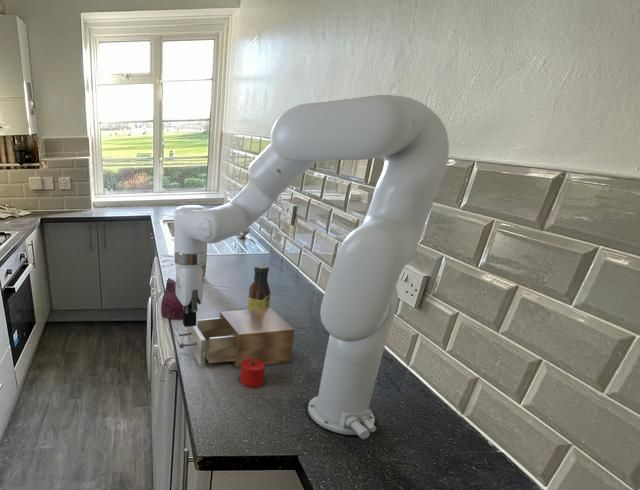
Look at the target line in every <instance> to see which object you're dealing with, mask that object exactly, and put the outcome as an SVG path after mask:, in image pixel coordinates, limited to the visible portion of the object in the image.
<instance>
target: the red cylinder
mask: <svg viewBox="0 0 640 490" xmlns="http://www.w3.org/2000/svg"><path fill="white" fill-rule="evenodd" d="M265 367H266V365H264V363H263V362H261V361H259V360H256V359H246V360H244V361H242V363H241V367H240V375H239V376H240V377H239V381H240V383H241V384H242V385H243V386H245V387H249V388H258V387H261V386H262V385H263V383H264V376H265Z"/></svg>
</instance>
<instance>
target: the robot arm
mask: <svg viewBox="0 0 640 490" xmlns="http://www.w3.org/2000/svg"><path fill="white" fill-rule="evenodd" d="M271 128H272V129H271V132H270V143H269V144H268V145H267V146H266V147H265V148H264V149H263V150H262V151H261V152H260V153H259V154H258V155H257V156H256V157H255V158H254V160H252V161H251V162H250V164H249V166H248V169H247V172H248V177H249V179H248V181H247V183H246V185H245V186H244V187H243V188H242V189H241V190H240V191H239V192H238V194H236V195H235V196H234V197H233V198H232V199H231V200H230V201H229V202H228V203H225V204H221V205H218V206H215V207H211V208H207V209H206V208H205V207H204V206H202V205H199V204H187V205H180V206H178V207H176V208H175V210H174V212H173V237H174V238H173V240H174V245H173V246H174V247H173V248H174V249H173V250H174V253H173V255H174V265H175V266H176V267H175V282H176V290H175V293H176V296H177V298H178V299H179V301H180V302H181V304H182V305H183V310H185V311H183V319H182V325H183V326H184V328H188V327H190V326H196V325H197V312H198V310H199V309H198V305H199V306H200V305H202V303H203V297H204V283H203V282H204V278H202V275H203V274H202V266H203V265H204V264H205V252H206V243H207V244H217V243H220V242H223V241H225V240H227V239H229V238H232V237H235V236H237V235H240V234H241V233H243V232H244V231H245V230H247V229H248V228H249V227H250V226H252V224H254V223H255V222H256V221H257V220H258V219H259V218H260V217H262V216H264V214H265V213H266V212H267V211H268V210H269V209H270V208H271V207H272V206H273V205H274V203H275V202H276V201H277V199H278V198H279V196H280V195H281V194H283V192H285V191H286V190H287V189H288V188H289V187H291V185H292V184H293V183H295V182H296V181H297V180H298V179H299V178H301V176H303V175H304V174H305V173H306V172H307V171H308V170H309V169H311V168H312V167H313V166H314V165H315V164H316V163H317V162H327V161H329V162H330V161H362V160H374V159H379V158H383V167H382V171H381V174H380V176H379V178H378V180H377V183H376V185H375V188H374V191H373V193H372V194H373V195H372V198H371V201H370V204H369V207H368V209H367V212H366V215H365V217H364V220H363V222H362V223H361V224H360V225H359V226H358V227H355V229H353V230H352V231H351V232H349V233H348V235H347V236H345V238H344V240H343V241H342V243H341V245H340V247H339V248H338V251H337V253H336V255H335V259H334V261H333V265H332V269H331V272H330V273H329V278H328V281H327V285H326V288H325V291H324V294H323V298H322V299H321V300H322V301H321V304H320V311H319V312H320V319H321V323H322V326H323V327H324V329H325V330H326V332H327V333H328V334H329V337H328V342H327V346H326V351H325V356H324V362H323V367H322V372H321V377H320V383H319V390H318V394H317V395H316V396H314V397H313V398H311V399H310V401H309V402H308V404H307V413H308V415H309V416H310V418H311V419H312V420H313V421H314V422H315V423H316V424H318V425H319V426H320V427H322V428H324V429H325V430H329V431H330V432H333V433H337V434H340V435H346V436H358V437H359V438H360V439H362V440H364V439H367V438H369V436H370V435H371V433H374V432H376V431H377V426H375V422H376V421H375V420H376V419H375V415H374V414H373V411H372V410H371V409H370V405H371V401H372V397H373V393H374V389H375V385H376V382H377V378H378V375H379V370H380V366H381V362H382V359H383V355H384V351H385V347H386V343H387V340H388V337H389V333H390V330H391V327H392V324H393V321H394V318H395V315H396V312H397V310H398V303H399V292H398V289H397V284H398V282H399V280H400V277H401V275H402V272H403V271H404V268H405V267H406V266H407V265H408V264H409V262H410V261H411V260H412V258H413V257H414V256H415V254H416V252H417V249H418V245H419V242H420V240H421V239H420V238H421V236H422V233H423V230H424V228H425V225H426V222H427V221H428V218H429V215H430V212H431V210H432V208H433V204H434V201H435V198H436V197H437V193H438V190H439V188H440V185H441V183H442V180H443V178H444V175H445V171H446V168H447V164H448V161H449V160H448V159H449V153H450V144H449V136H448V132H447V129H446V126H445V124H444V122H443V120H442V119H441V118H440V116H439V115H437V113H436V112H435V111H434V110H432V109H431V108H430V107H428V106H427V105H425V104H424V103H423V102H421V101H420V100H417V99H414V98H412V97H408V96H403V95H392V94H376V95H367V96H359V97H352V98H344V99H337V100H336V99H335V100H328V101H321V102H320V101H318V102H310V103H309V102H308V103H307V102H306V103H299V104H295V105H293V106H290V107H289V108H287V109H285V110H284V111H283V112H282V113H281V114H280V115H279V116H278V118H277V119H276V121H275V122H274V124H273V126H272V127H271Z"/></svg>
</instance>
